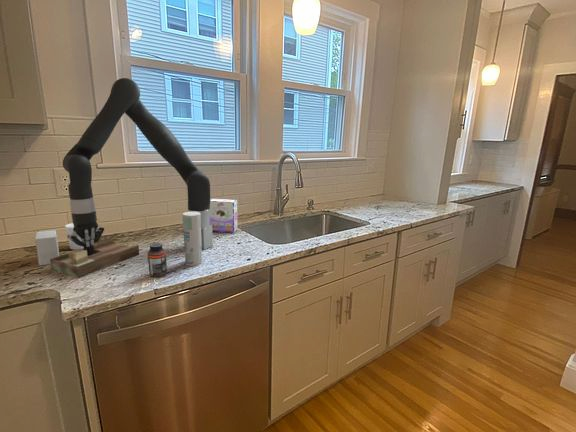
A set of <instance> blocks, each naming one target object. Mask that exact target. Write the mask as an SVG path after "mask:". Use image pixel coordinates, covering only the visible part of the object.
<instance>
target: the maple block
mask: <svg viewBox="0 0 576 432" xmlns="http://www.w3.org/2000/svg"><path fill="white" fill-rule="evenodd" d="M68 253H69V258H70V263H73V264H77V265H78V264H81V263H84V262H86V261H88V256H87V251H86V250H82V249H76V250H74V249H73V250H72V251H68Z"/></svg>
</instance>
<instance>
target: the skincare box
mask: <svg viewBox="0 0 576 432" xmlns="http://www.w3.org/2000/svg"><path fill="white" fill-rule="evenodd" d="M34 240H35V247H36V254H37V260H38V266H43V265H44V266H46V265H51V262H50V259H52V258H55V257H58V256H60V251H59V249H60V247H59V241H58V236H57V230H56V229H55V230H54V229H52V230H43V231H42V230H41V231H36V234H35V239H34Z"/></svg>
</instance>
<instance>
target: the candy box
mask: <svg viewBox="0 0 576 432" xmlns="http://www.w3.org/2000/svg"><path fill="white" fill-rule="evenodd" d="M210 225H211V226H212V232H217V233H219V232H220V233H231V234H232V233H233V234H234V233H236V232H237V231H238V200H237V199H225V198H224V199H223V198H210Z"/></svg>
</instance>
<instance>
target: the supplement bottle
mask: <svg viewBox="0 0 576 432" xmlns="http://www.w3.org/2000/svg"><path fill="white" fill-rule="evenodd" d="M147 262H148V263H147V265H148V272H149V276H150V277H152V278H160V277H164V276H165V275H166V274H167V273H168V266H167V253H166V249H164V247H163V243H161V242H154V243H151V244H149V250H148V251H147Z"/></svg>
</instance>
